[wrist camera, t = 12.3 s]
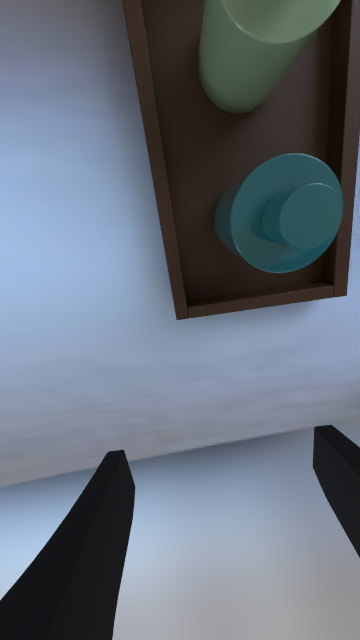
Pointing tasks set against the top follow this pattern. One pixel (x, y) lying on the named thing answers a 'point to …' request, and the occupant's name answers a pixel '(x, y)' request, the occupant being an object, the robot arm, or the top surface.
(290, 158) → the teal bottle
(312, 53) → the tray
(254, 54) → the green bottle middle
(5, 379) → the top surface
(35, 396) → the top surface
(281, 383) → the top surface
